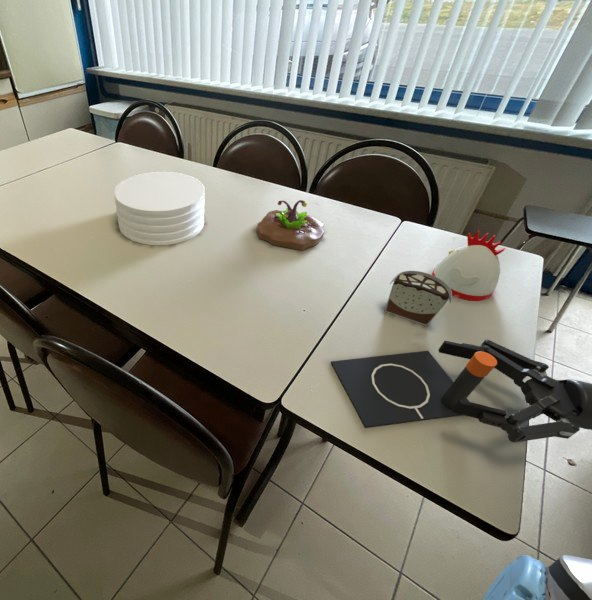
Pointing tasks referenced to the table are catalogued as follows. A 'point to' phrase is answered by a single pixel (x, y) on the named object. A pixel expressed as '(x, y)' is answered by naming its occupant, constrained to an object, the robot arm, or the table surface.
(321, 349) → the table surface
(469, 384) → the marker
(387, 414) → the desk mat
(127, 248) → the table surface
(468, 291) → the kitchen timer
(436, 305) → the food container
